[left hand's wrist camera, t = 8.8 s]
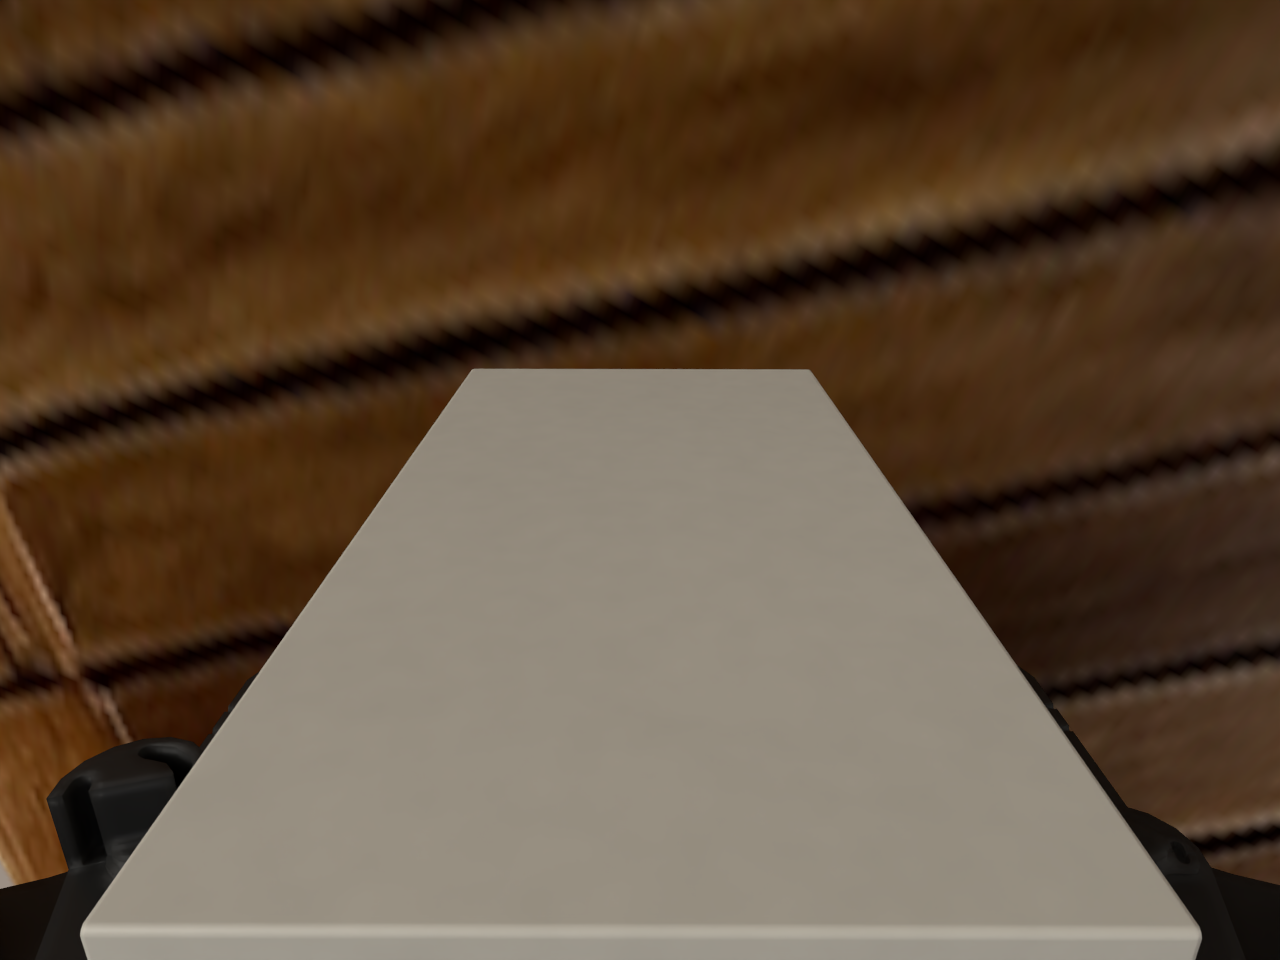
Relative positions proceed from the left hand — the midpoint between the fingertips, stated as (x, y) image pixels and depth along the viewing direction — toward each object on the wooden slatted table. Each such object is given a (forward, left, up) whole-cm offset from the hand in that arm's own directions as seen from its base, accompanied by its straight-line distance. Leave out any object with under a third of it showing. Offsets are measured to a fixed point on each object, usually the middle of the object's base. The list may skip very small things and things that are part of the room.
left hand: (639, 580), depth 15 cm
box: (+2, +7, -2) cm, 8 cm away
